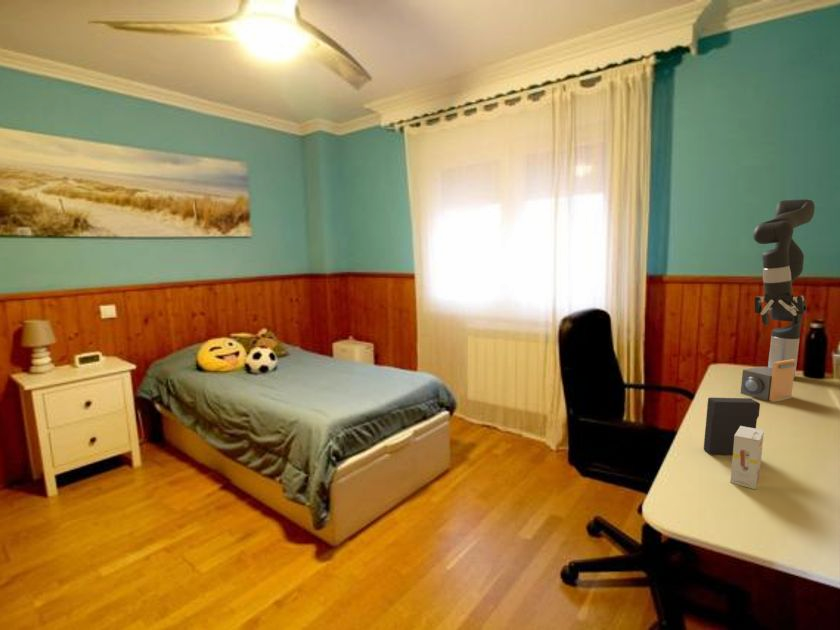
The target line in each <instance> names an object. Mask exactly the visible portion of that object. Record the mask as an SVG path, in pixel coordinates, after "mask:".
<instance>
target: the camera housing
mask: <svg viewBox="0 0 840 630" xmlns="http://www.w3.org/2000/svg"><path fill="white" fill-rule="evenodd" d="M772 371H773V368H769V367H768V366H765V365H764V366H757V367H753V368H747V369H742V376H741V385H740V386H741V387H740V394H741V395H745V396H749V397H752V398H756V399H759V400H764V401H769V398H770V389H771V380H772ZM769 402H770V401H769Z"/></svg>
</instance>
